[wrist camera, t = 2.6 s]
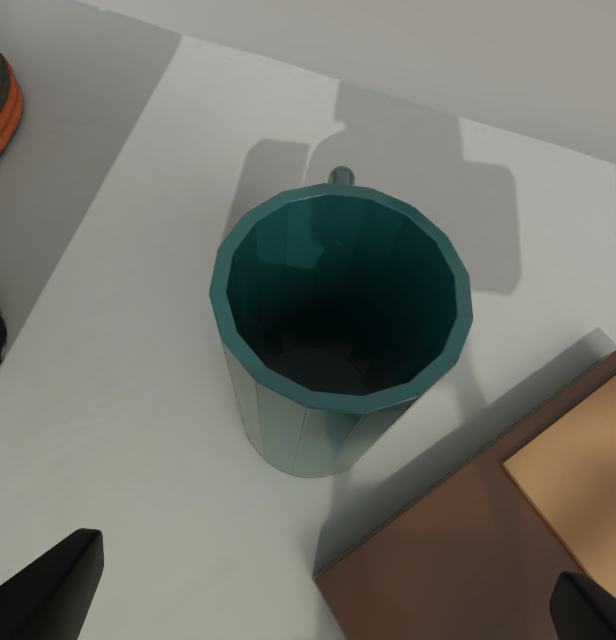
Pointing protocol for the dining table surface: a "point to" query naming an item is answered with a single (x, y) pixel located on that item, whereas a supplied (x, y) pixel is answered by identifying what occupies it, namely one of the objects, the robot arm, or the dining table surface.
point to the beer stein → (8, 103)
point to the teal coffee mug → (335, 320)
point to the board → (493, 531)
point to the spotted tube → (2, 337)
